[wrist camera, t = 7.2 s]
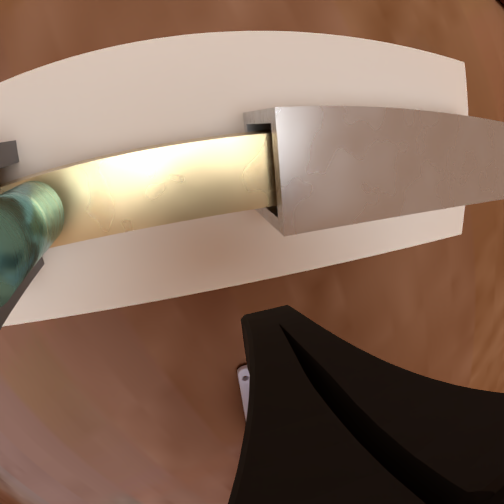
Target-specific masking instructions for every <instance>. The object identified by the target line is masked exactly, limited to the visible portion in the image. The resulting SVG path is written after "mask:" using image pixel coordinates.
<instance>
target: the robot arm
mask: <svg viewBox="0 0 504 504" xmlns="http://www.w3.org/2000/svg"><path fill="white" fill-rule="evenodd" d="M241 324H242V331H243V339H244V347H245V354H246V361H247V365H244V366H241V367H240V368H238V370H237V375H238V380H239V386H240V392H241V398H242V403H243V409H244V414H245V420H246V426H245V433H244V438H243V444H242V449H241V455H240V460H239V464H238V469H237V473H236V477H235V480H234V484H233V488H232V491H231V495H230V498H229V502H228V504H504V393H498V392H490V391H484V390H477V389H471V388H467V387H462V386H457V385H453V384H449V383H446V382H442V381H438V380H435V379H431V378H428V377H425V376H422V375H419V374H416V373H413V372H410V371H408V370H405V369H403V368H400V367H398V366H395V365H392V364H390V363H388V362H386V361H383V360H381V359H379V358H377V357H375V356H373V355H371V354H369V353H367V352H365V351H363V350H361V349H359V348H357V347H355V346H353V345H351V344H350V343H348V342H346V341H344V340H342V339H341V338H339V337H337V336H336V335H334V334H332V333H331V332H329V331H327V330H326V329H324V328H323V327H321V326H319V325H318V324H316V323H315V322H313V321H312V320H310V319H308V318H307V317H305V316H304V315H302V314H301V313H299V312H298V311H296V310H295V309H293V308H292V307H290V306H288V305H285V306H281V307H277V308H273V309H268V310H264V311H260V312H255V313H251V314H246V315H244V316H243V317H242V319H241ZM244 376H247V377H244Z"/></svg>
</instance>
